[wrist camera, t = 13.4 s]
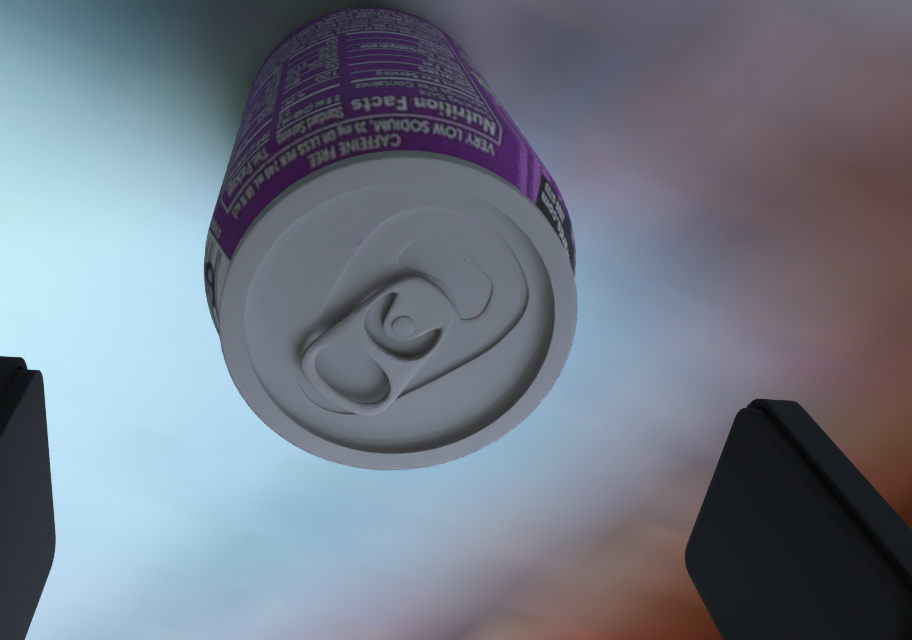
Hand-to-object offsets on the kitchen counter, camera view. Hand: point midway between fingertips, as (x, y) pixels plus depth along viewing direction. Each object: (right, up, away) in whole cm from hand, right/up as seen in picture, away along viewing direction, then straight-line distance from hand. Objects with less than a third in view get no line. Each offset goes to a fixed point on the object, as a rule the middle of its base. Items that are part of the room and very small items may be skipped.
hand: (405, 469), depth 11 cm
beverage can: (-2, +8, +14) cm, 16 cm away
